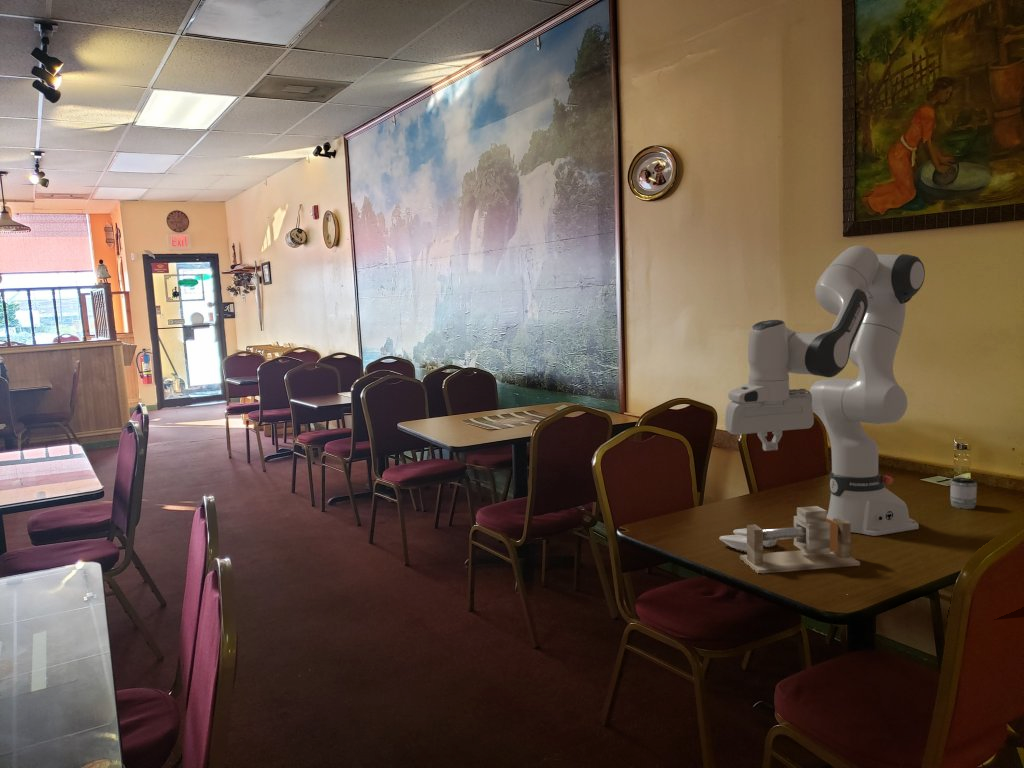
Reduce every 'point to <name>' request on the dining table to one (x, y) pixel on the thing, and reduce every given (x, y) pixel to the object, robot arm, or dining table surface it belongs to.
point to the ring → (833, 535)
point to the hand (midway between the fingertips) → (770, 450)
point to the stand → (797, 553)
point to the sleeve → (813, 530)
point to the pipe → (786, 533)
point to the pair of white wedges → (742, 540)
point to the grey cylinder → (963, 493)
